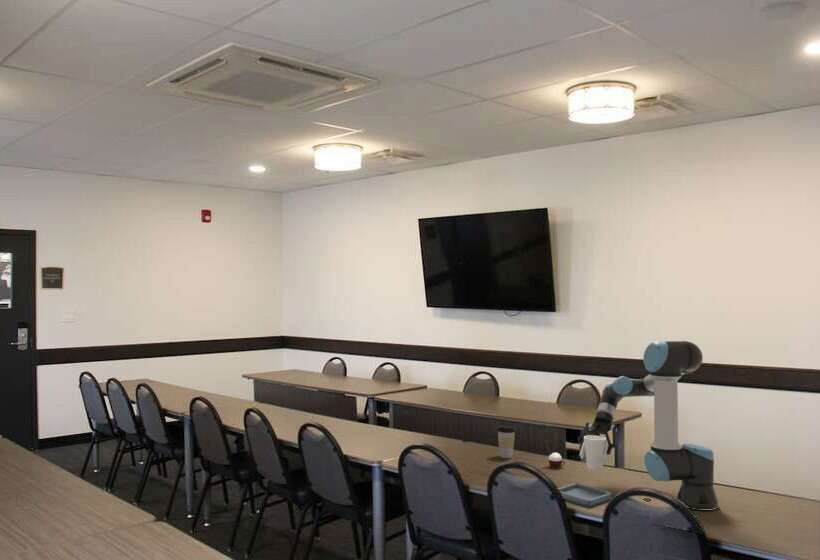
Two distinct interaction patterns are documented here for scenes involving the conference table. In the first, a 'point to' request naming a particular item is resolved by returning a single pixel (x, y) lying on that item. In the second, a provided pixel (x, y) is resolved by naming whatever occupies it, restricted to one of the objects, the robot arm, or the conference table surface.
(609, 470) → the conference table surface
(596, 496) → the tray
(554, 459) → the cocoa
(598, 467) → the foam cup
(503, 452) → the coffee cup
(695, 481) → the robot arm
